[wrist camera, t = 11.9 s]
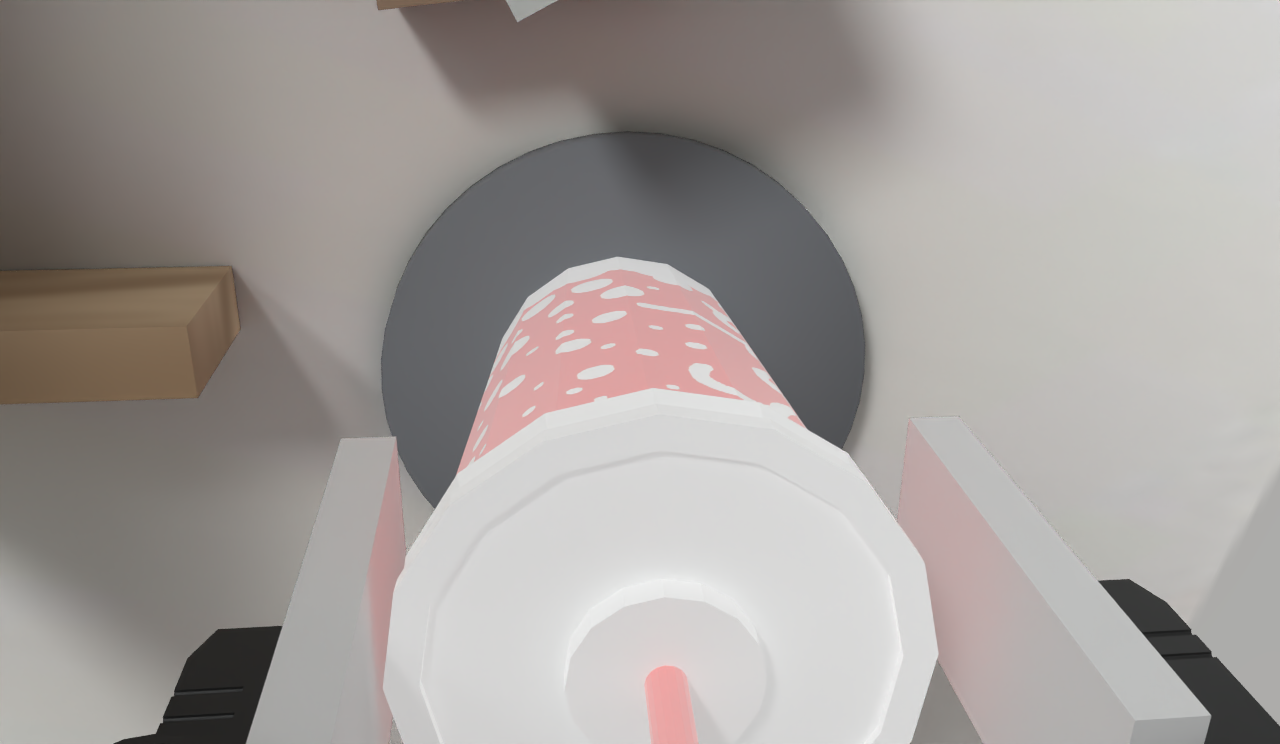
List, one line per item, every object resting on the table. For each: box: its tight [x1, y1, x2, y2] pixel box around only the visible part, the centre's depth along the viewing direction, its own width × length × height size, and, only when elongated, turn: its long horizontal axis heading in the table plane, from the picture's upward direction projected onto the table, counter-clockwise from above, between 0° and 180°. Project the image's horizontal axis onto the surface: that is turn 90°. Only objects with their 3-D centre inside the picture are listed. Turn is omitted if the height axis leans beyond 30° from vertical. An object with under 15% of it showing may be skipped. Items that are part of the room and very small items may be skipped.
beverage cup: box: [383, 257, 939, 744], centre depth 14 cm, size 6×6×14 cm
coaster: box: [381, 132, 865, 509], centre depth 21 cm, size 9×9×1 cm
